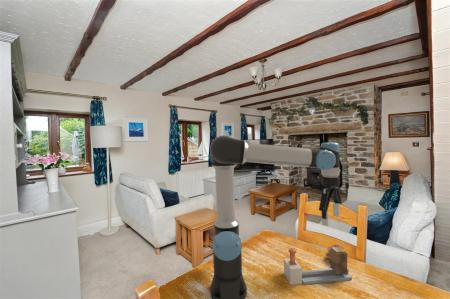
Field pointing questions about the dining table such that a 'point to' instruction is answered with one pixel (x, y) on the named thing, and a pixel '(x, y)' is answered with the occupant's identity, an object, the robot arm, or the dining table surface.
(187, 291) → the dining table surface
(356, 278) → the dining table surface
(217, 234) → the robot arm
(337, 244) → the flower
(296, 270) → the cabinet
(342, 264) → the carriage
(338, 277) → the rail board
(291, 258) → the plunger
